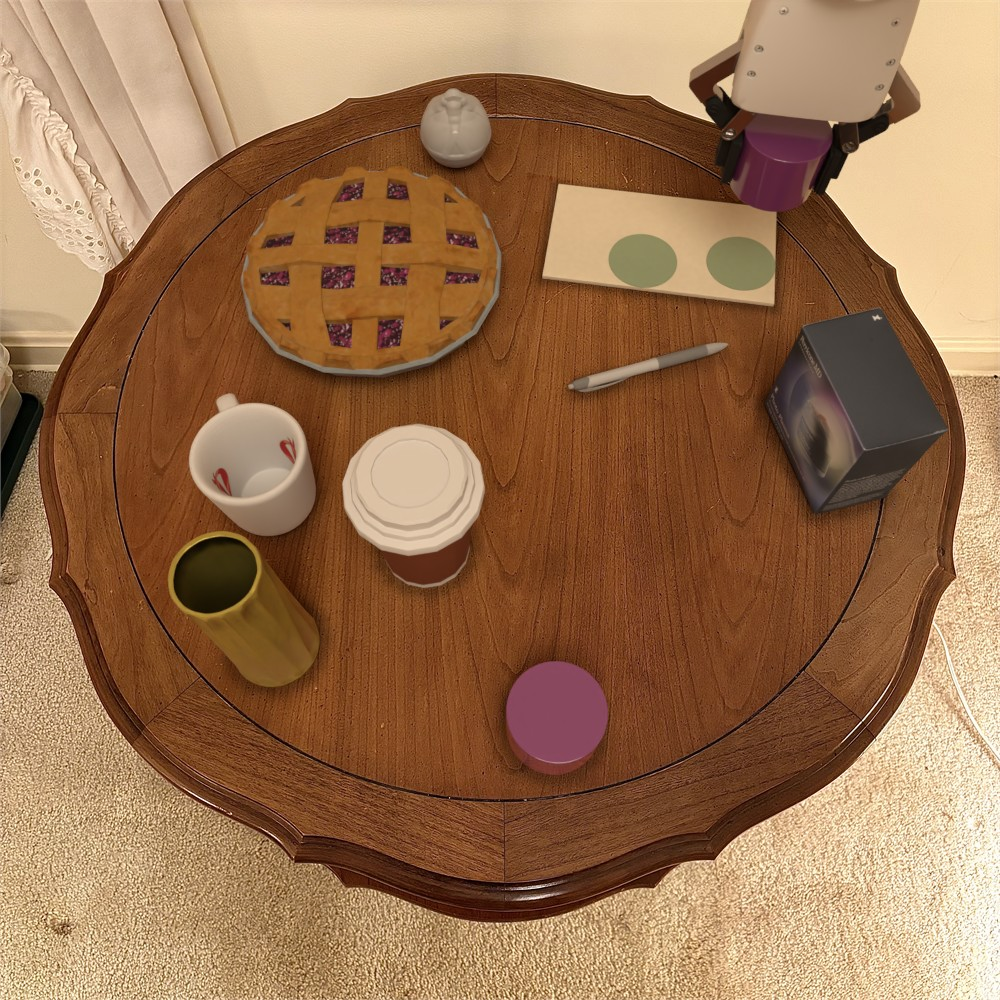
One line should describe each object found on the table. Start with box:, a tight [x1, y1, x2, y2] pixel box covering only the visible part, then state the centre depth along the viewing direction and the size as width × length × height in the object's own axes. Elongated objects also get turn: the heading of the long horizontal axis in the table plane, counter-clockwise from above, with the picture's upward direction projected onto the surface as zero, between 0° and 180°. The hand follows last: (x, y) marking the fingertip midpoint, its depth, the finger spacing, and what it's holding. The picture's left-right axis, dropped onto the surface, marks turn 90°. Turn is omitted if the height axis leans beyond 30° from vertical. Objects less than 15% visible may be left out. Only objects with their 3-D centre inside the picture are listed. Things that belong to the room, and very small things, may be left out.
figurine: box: [419, 87, 492, 169], centre depth 77 cm, size 6×7×8 cm
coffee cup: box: [341, 423, 486, 589], centre depth 57 cm, size 9×9×12 cm
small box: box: [763, 307, 949, 515], centre depth 62 cm, size 11×6×10 cm, turn 14°
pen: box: [567, 341, 729, 393], centre depth 69 cm, size 1×14×1 cm, turn 107°
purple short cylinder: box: [505, 660, 609, 776], centre depth 55 cm, size 6×6×5 cm
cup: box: [188, 392, 317, 537], centre depth 61 cm, size 11×8×8 cm
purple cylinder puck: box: [729, 113, 833, 213], centre depth 63 cm, size 6×6×5 cm
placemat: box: [541, 183, 778, 308], centre depth 75 cm, size 20×11×1 cm, turn 81°
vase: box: [167, 530, 321, 688], centre depth 53 cm, size 6×6×14 cm
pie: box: [240, 165, 503, 379], centre depth 71 cm, size 22×22×5 cm
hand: (772, 174), depth 65 cm, fingers closed on purple cylinder puck, 6 cm apart
